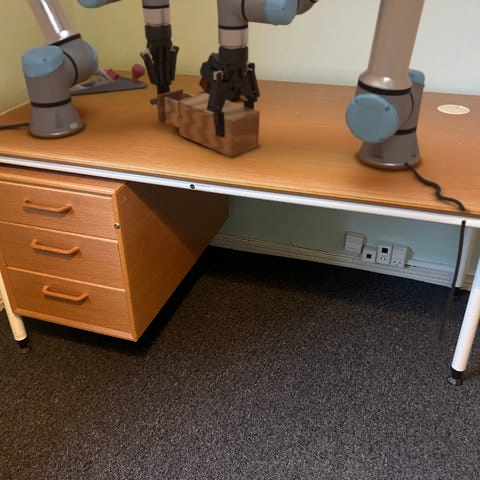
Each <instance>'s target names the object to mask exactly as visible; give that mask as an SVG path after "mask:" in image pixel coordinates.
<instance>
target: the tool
mask: <svg viewBox="0 0 480 480" xmlns="http://www.w3.org/2000/svg"><path fill="white" fill-rule="evenodd" d="M220 69H221V63H220V61H219V52H217V53H216V52H211V53H210V55H209V56H208V58H207V60H206V61H204V62H202V63H201V67H200V68H199V74H200V76H201V78H200V80H199V82H198V85H199V86H200V88H201V89H202V90H203V92H204V93H207V94H210V88H211V83H212V75H211V73H212V71H216V72H217V71H220ZM225 83H226V82H225ZM227 84H228V83H227ZM241 97H244V98H246V97H245V95H244V93H243V91H242V89H241V87H240V85H239V83H235V84H233V86H232V88H230V90H229V93H228V95H227V98H226V100H228V101H230V102H232V101H234V100H236V99H239V98H241Z"/></svg>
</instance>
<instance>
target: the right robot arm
mask: <svg viewBox="0 0 480 480" xmlns="http://www.w3.org/2000/svg"><path fill="white" fill-rule="evenodd" d="M319 1H320V0H216V7H217V34H218V35H217V38H218V39H217V40H218V41H217V42H218V45H219V46H218V53H219V61H220V63H221V69H220V71H217V72H216V71H212V73H211V75H212V83H211V88H210V94H209V99H208V105H207V110H208V111H211V112H213V115H214V124H215V132H216V135H218V136H221V137H225V125H224V112H222V109H223V107H224V104H225V101H226V100H227V99H226V98H227V95H228V93H229V90H230V88H232V86H233V84H235V83H239V85H240V87H241V89H242V91H243V93H244V95H245V97H244V98H245V100H243V106H245V107H248V108H251V109H254V110H255V103H257V102H258V100H259V99H258V98H260V96H261V93H260V88H259V83H258V79H257V76H256V63H255V62H253V61H252V62H251V61H249V46H248V44H249V43H250V42H249V39H250V38H249V23H257V24H264V25H273V26H288V25H290V24H292V23H293V20H294V19H295V18H296V16H301V15H303V14H305V13H307V12H308V11H310V10H311V9H312V8H313V6H314V5H315V4H316V3H318V2H319ZM425 1H426V0H380V1H379V6H378V11H377V17H376V22H375V27H374V31H373V37H372V43H371V47H370V52H369V58H368V62H367V68H366V69H365V70H364V71H362V72H361V73H359V75H358V78H357V83H356V89H355V93H354V97H353V98H351V100H350V101H349V103H348V105H347V107H346V109H345V116H344V118H345V123H346V126H347V128H348V130H349V131H350V132H351V134H352V135H353V136H354V137H355V138H356V139H357V140H359V141H361V142H362V143H361V145H360V147H359V151H358V159H359V160H360V162H362V163H363V164H364V165H367V166H369V167H372V168H374V169H378V170H385V171H403V170H409V171H411V172H412V174H414V176H415V177H416V178H417V179H418V180H419V181H420V182H422V183H424V184H426V185H429V186H432V187H434V188H435V189H436V192H435V195H436V197H437V198H438V199H439V200H442V201H444V202H451V203H453V204H456V205H457V206H458V207H459V210H460V211H462V212H466V211H467V210H466V208H465V206H464V204H463V202H461V201H460V200H458V199H457V198H454V197H448V196H444V195H442V194H441V191H442V189H441V186H440V185H439V184H438V183H436V182H433V181H431V180H428V179H426V178H424V177H423V176H421V174H420V173H419V172H418V171H417V170H416V169H415V168H414V167H416V166H418V164H419V163H420V158H421V153H420V151H421V150H420V146H419V140H418V135H417V130H418V124H419V119H420V111H421V108H422V107H421V105H422V99H423V96H424V95H423V93H424V88H425V86H426V84H425V82H426V81H425V79H426V76H425V74H424V72H423V71H421V70H417V69H414V68H410V65H411V60H412V56H413V52H414V47H415V43H416V39H417V35H418V31H419V27H420V23H421V18H422V14H423V10H424V5H425ZM225 82H226V83H225ZM227 83H228V84H227ZM217 107H218V108H217ZM466 224H467V220H465V219H464V220H461V224H460V230H459V240H458V250H457V256H456V263H455V268H454V272H453V277H452V281H451V285H450V289H449V293H448V298H447V302H446V305H445V309H444V313H443V316H442V321H441V324H440V328H439V333H438V337H437V341H438V342H442V340H443V336H444V331H445V327H446V322H447V320H448V319H447V318H448V315H449V311H450V308H451V304H452V300H453V298H454V293H455V289H456V285H457V281H458V276H459V272H460V267H461V262H462V256H463V249H464V240H465V230H466Z"/></svg>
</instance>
